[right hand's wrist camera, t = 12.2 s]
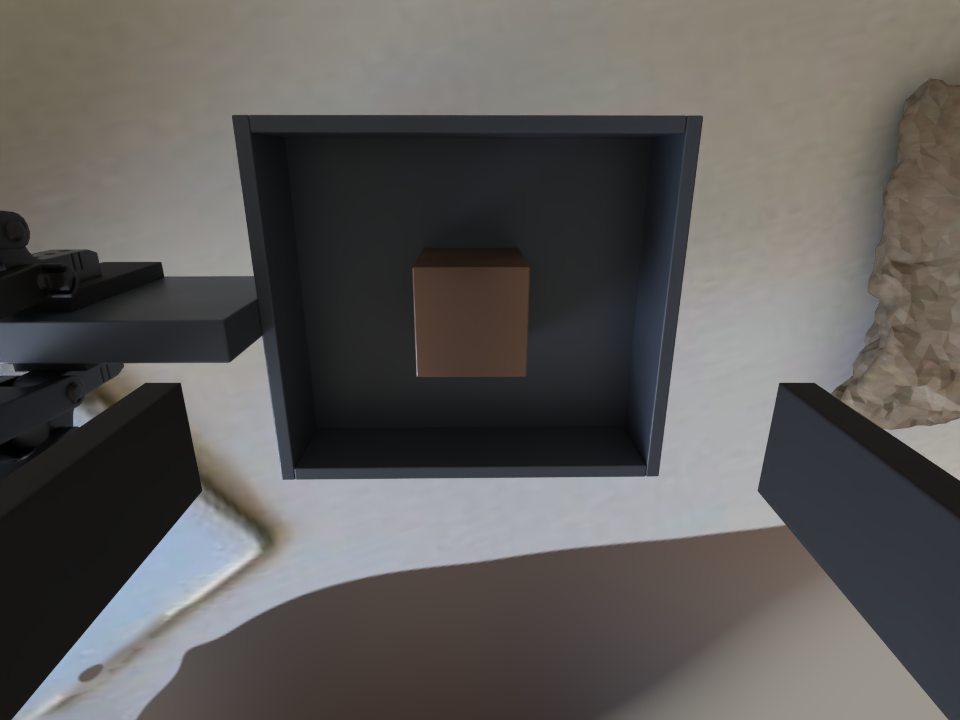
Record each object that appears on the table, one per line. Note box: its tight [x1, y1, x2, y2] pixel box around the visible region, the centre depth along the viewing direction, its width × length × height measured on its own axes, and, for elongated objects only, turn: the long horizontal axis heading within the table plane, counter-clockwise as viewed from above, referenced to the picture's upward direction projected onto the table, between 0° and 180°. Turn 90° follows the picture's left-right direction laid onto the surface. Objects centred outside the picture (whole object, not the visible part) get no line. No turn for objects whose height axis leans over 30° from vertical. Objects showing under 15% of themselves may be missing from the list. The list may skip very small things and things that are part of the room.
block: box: [412, 248, 530, 377], centre depth 24 cm, size 4×4×5 cm
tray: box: [0, 115, 703, 480], centre depth 23 cm, size 27×15×8 cm, turn 90°
